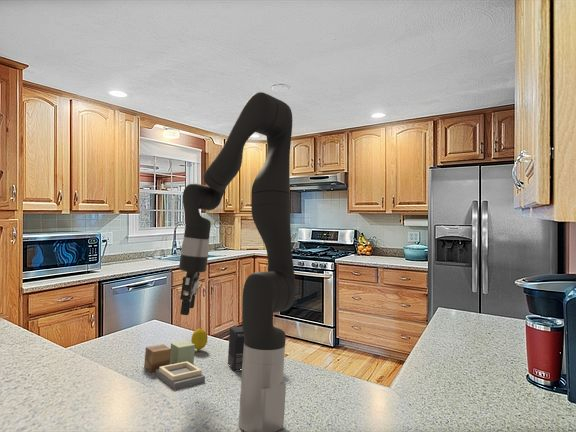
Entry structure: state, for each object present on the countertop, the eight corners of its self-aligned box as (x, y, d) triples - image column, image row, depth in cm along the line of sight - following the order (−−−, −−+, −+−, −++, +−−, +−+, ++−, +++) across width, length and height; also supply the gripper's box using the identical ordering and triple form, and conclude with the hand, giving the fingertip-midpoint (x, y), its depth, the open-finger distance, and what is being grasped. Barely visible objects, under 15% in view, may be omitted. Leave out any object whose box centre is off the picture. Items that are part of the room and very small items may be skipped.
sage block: (193, 364, 112) (195, 344, 112) (177, 367, 108) (178, 347, 108) (185, 359, 116) (186, 340, 116) (169, 362, 112) (170, 343, 112)
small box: (264, 360, 119) (267, 324, 120) (272, 367, 113) (275, 329, 113) (226, 364, 113) (229, 326, 114) (232, 372, 107) (235, 331, 108)
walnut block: (169, 369, 106) (171, 348, 107) (151, 373, 102) (153, 351, 103) (161, 363, 110) (163, 344, 111) (144, 367, 106) (145, 347, 107)
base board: (204, 381, 98) (205, 371, 99) (174, 389, 92) (175, 378, 92) (184, 368, 107) (185, 359, 107) (155, 374, 101) (156, 365, 101)
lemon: (202, 354, 122) (204, 330, 122) (187, 352, 123) (189, 328, 123) (209, 349, 127) (210, 326, 127) (194, 347, 128) (196, 325, 129)
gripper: (204, 257, 94) (197, 318, 93) (210, 253, 108) (204, 306, 107) (176, 254, 93) (168, 316, 92) (185, 251, 107) (178, 304, 106)
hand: (187, 311), depth 100 cm, fingers open, 8 cm apart
